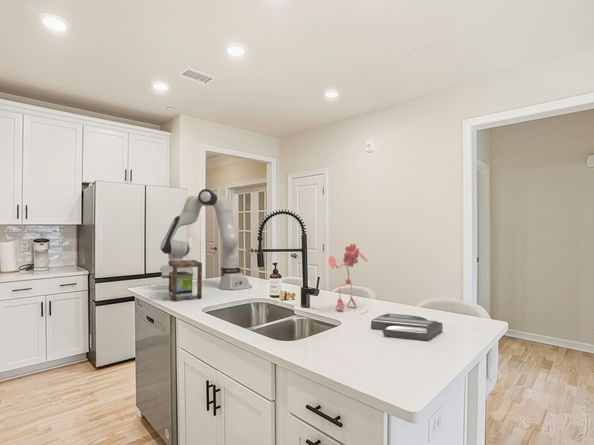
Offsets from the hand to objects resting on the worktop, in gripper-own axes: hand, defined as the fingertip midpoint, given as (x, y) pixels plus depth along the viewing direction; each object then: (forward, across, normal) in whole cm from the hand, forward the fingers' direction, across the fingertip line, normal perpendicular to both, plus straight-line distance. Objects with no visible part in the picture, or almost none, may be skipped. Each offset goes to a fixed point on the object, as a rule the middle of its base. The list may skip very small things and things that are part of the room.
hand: (178, 281), depth 217 cm
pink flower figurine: (+68, +70, -60) cm, 115 cm away
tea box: (+18, -2, -9) cm, 20 cm away
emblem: (+94, +71, -85) cm, 146 cm away
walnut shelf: (+17, 0, -9) cm, 19 cm away
